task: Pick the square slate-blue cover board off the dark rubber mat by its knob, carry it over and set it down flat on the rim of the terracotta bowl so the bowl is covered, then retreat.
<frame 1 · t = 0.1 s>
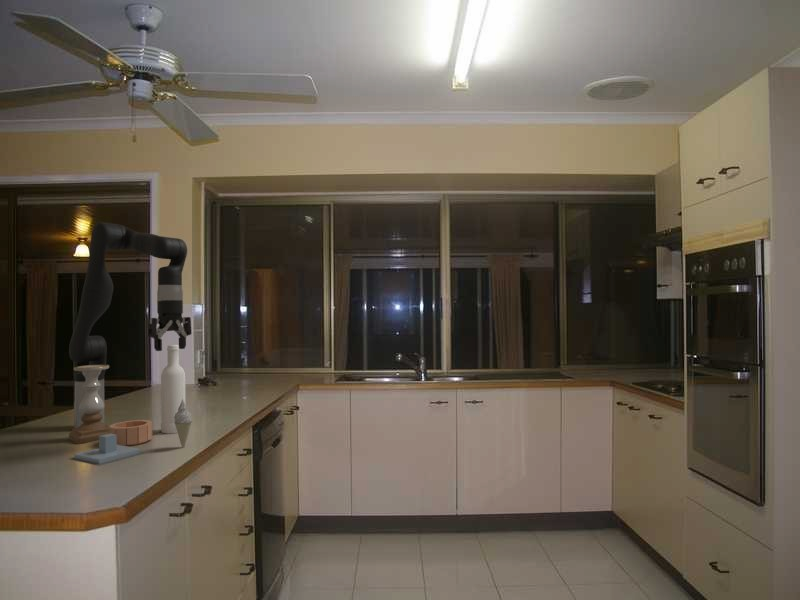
hand: (170, 349, 166), 29 cm above the counter, fingers open, 8 cm apart
ice cream cone: (183, 449, 157), on the counter
mat: (107, 457, 149), on the counter
candle holder: (91, 439, 172), on the counter
bowl: (131, 443, 164), on the counter
bottle: (173, 431, 180), on the counter
lid: (107, 455, 149), resting on mat
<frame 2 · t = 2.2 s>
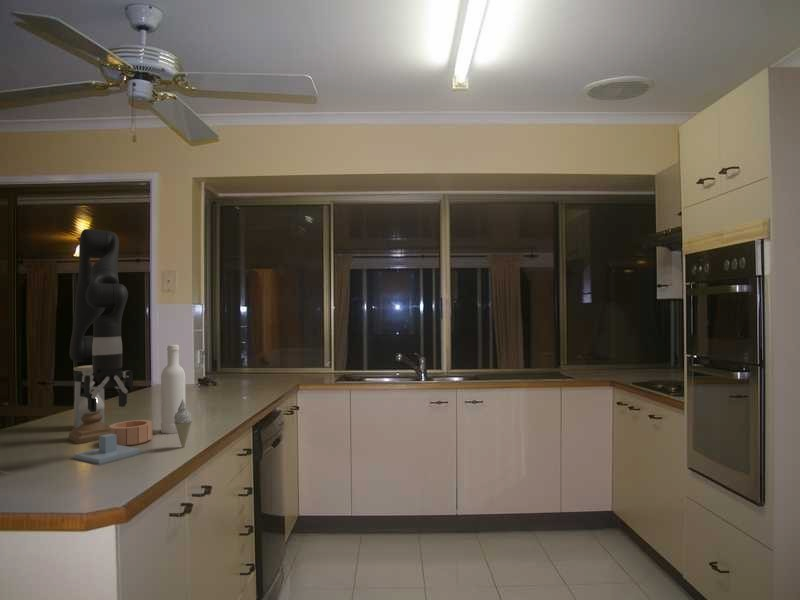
hand: (107, 409, 149), 14 cm above the counter, fingers open, 8 cm apart
nothing on the counter moved.
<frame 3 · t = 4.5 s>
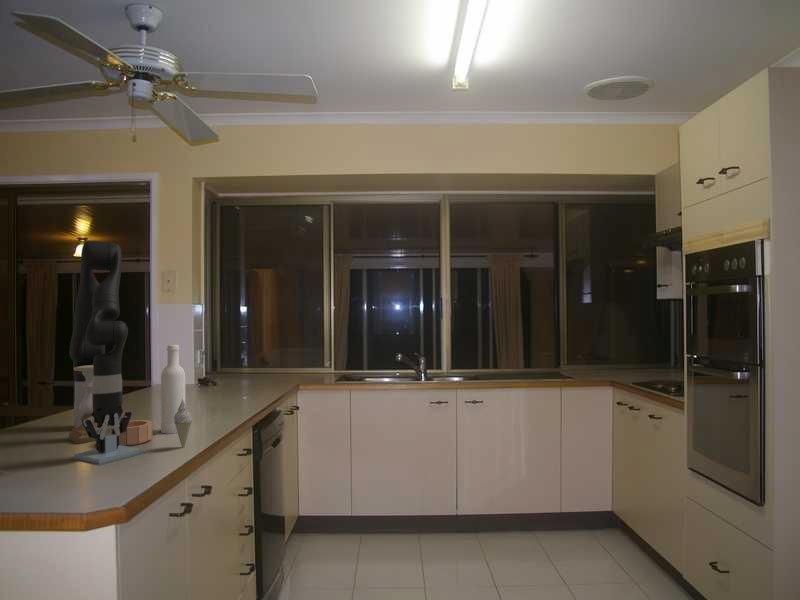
hand: (107, 450, 149), 2 cm above the counter, fingers closed on lid, 3 cm apart
lid: (107, 455, 149), resting on mat, touching gripper
everything else where it was.
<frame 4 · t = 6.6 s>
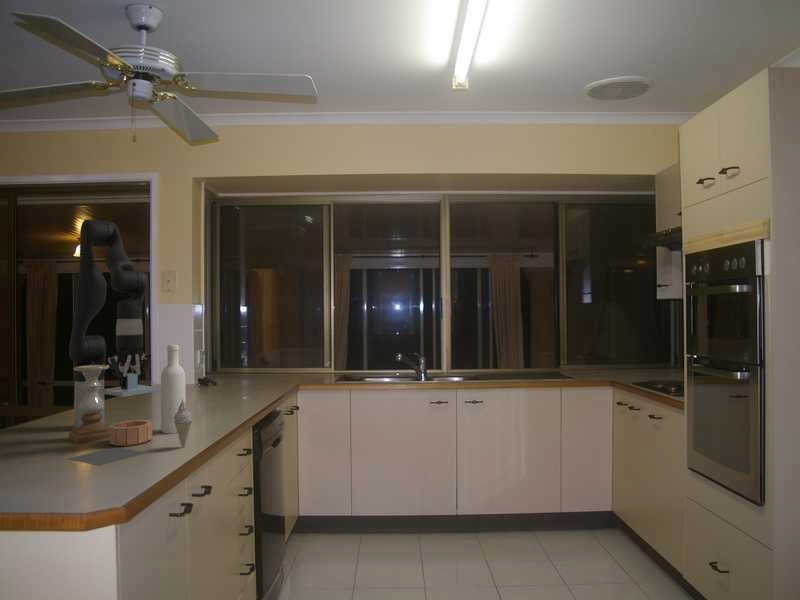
hand: (129, 387, 165), 18 cm above the counter, fingers closed on lid, 3 cm apart
lid: (129, 392, 165), point 16 cm above the counter, touching gripper
everything else where it was.
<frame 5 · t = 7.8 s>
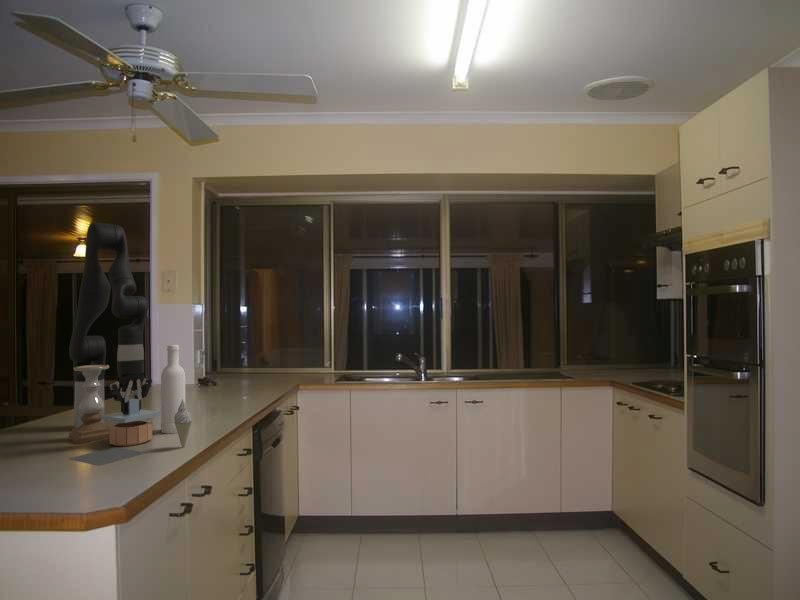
hand: (131, 412, 165), 10 cm above the counter, fingers closed on lid, 3 cm apart
lid: (131, 417, 165), point 8 cm above the counter, touching gripper
everything else where it was.
when the fingers open (8 cm above the counter, at t = 9.0 s): lid stays where it is, resting on bowl.
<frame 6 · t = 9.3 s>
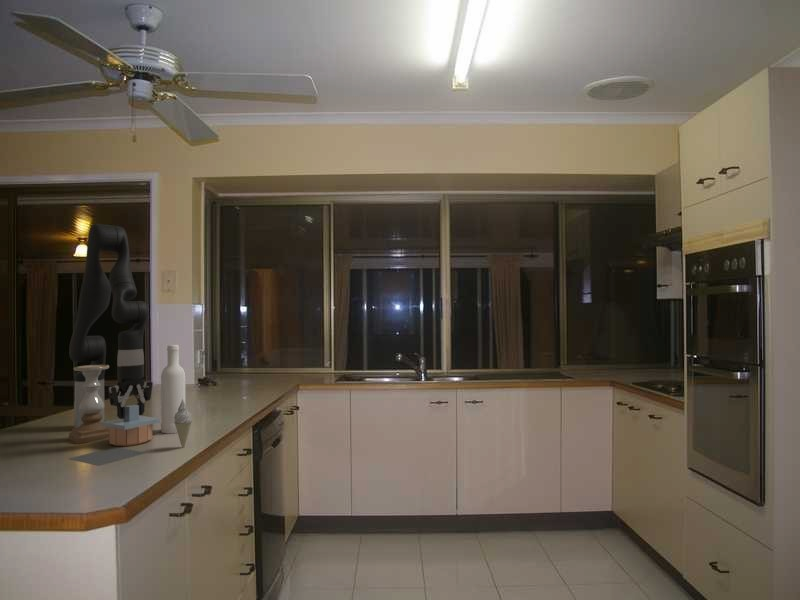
hand: (131, 416, 165), 8 cm above the counter, fingers open, 5 cm apart
lid: (131, 424, 165), point 6 cm above the counter, touching bowl
everything else where it was.
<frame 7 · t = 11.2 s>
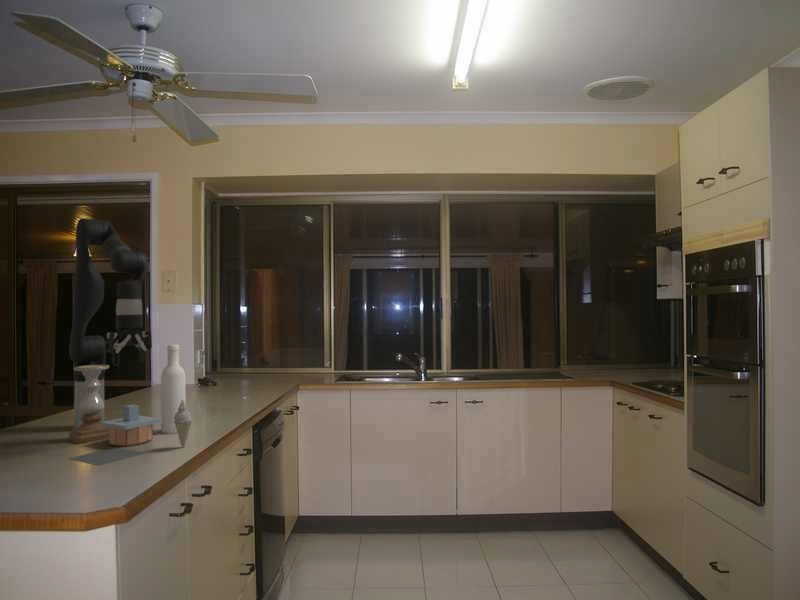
hand: (129, 364, 166), 25 cm above the counter, fingers open, 8 cm apart
nothing on the counter moved.
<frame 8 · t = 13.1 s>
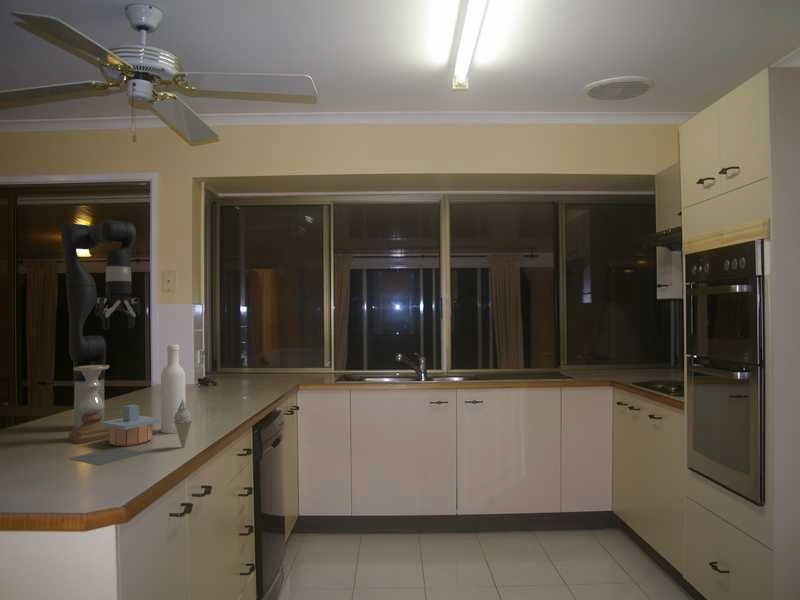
hand: (118, 328, 173), 36 cm above the counter, fingers open, 8 cm apart
nothing on the counter moved.
at the end: lid 0.0 cm off-centre on the bowl, point 6.0 cm above the bowl's base; lid tilted 0°; the gripper is holding nothing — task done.
